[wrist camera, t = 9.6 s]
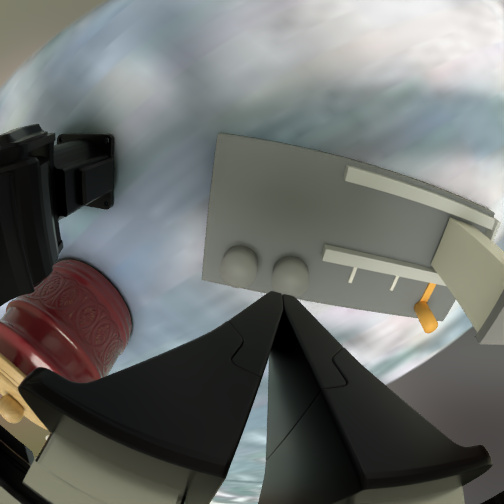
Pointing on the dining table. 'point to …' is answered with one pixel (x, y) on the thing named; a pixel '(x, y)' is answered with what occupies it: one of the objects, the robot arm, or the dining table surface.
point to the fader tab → (474, 277)
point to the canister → (61, 332)
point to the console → (330, 229)
